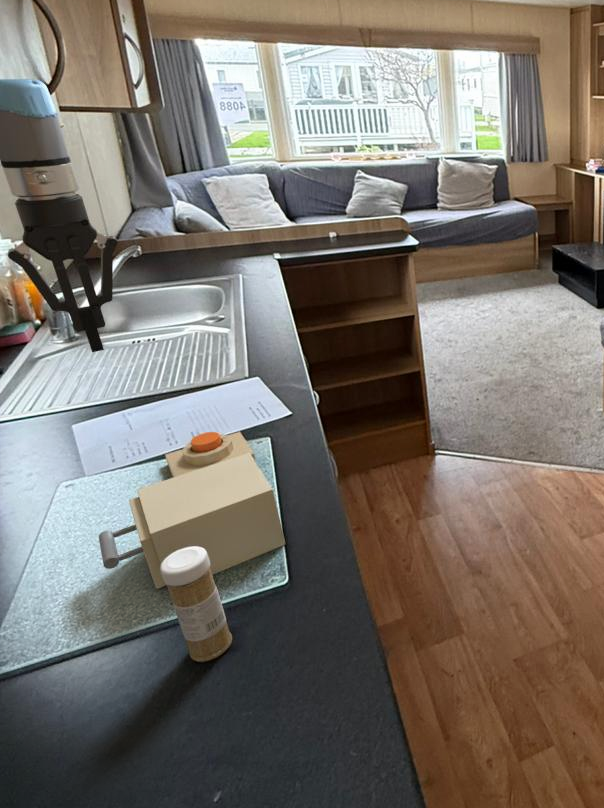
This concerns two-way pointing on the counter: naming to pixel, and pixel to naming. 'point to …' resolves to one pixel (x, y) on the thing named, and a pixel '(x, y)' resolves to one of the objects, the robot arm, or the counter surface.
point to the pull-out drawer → (148, 548)
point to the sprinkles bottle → (196, 602)
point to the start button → (206, 442)
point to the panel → (207, 455)
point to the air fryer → (214, 513)
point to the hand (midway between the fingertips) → (97, 348)
